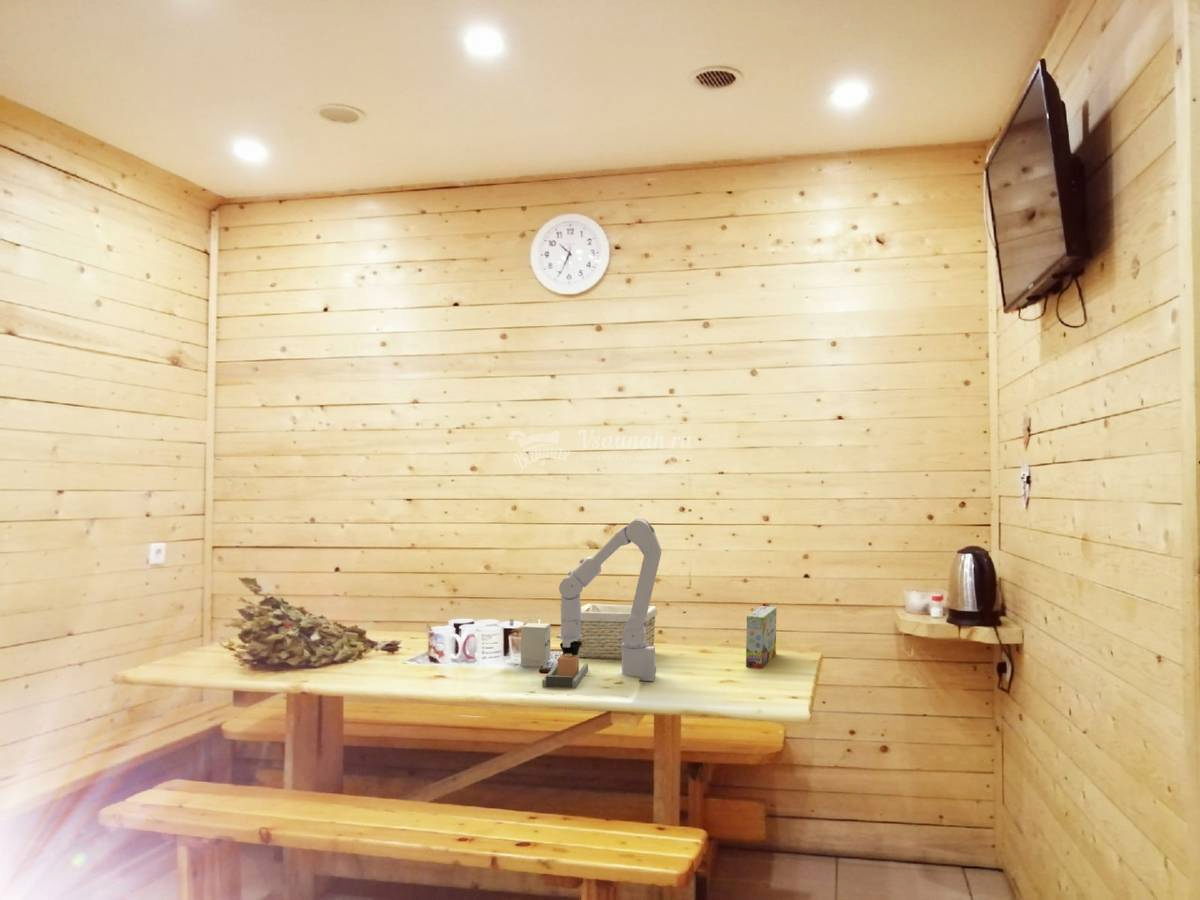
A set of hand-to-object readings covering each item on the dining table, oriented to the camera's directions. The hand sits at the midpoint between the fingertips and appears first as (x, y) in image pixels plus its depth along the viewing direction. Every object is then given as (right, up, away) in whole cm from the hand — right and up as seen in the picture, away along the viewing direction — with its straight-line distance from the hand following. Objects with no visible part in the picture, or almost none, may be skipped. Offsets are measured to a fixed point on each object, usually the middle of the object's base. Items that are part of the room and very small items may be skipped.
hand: (571, 668), depth 241 cm
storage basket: (+13, -3, +27) cm, 30 cm away
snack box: (+57, -3, +18) cm, 60 cm away
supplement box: (-11, -3, +10) cm, 15 cm away
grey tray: (-1, -2, -8) cm, 8 cm away
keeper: (-1, -1, -4) cm, 4 cm away
